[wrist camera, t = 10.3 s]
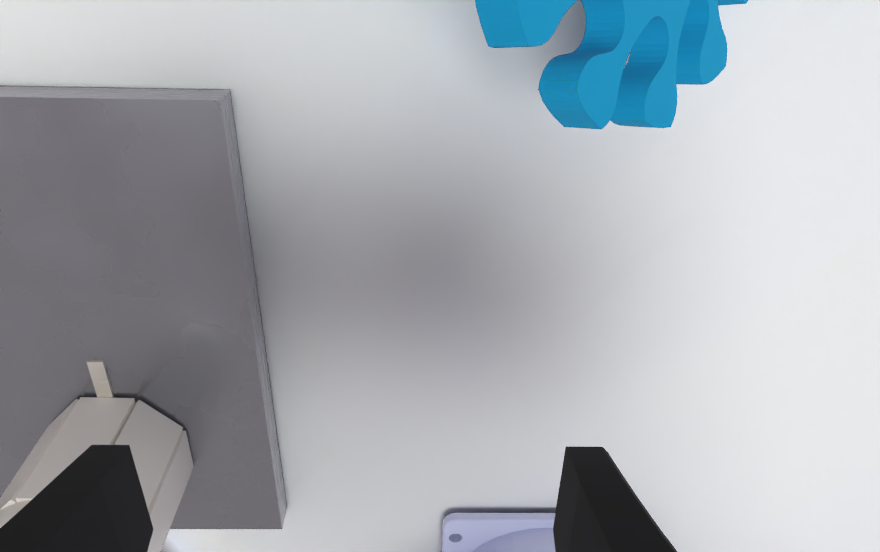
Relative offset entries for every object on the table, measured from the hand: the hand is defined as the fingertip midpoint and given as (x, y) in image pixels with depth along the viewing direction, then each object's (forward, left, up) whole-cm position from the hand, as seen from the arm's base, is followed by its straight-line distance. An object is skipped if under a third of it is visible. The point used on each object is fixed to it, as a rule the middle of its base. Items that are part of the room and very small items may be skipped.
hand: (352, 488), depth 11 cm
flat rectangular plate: (-4, +9, -10) cm, 14 cm away
